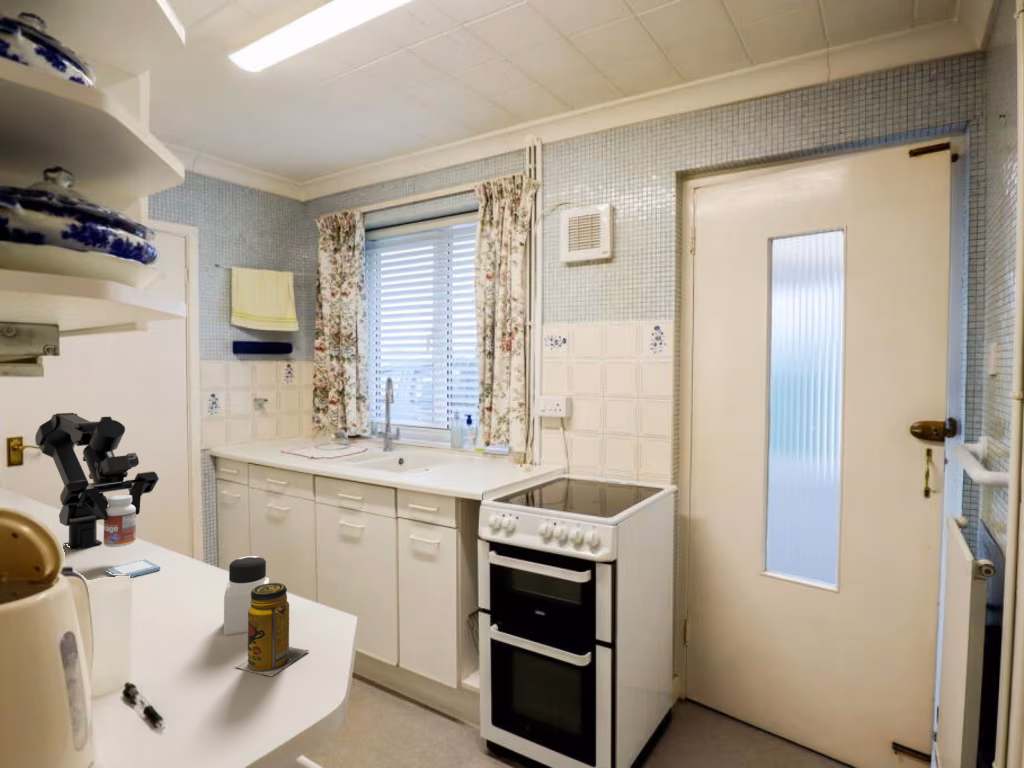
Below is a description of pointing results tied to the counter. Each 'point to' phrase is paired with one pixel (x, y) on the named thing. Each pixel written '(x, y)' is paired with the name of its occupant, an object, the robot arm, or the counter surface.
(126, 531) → the pill bottle
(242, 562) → the medicine bottle
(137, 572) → the coaster
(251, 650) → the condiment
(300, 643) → the counter surface
